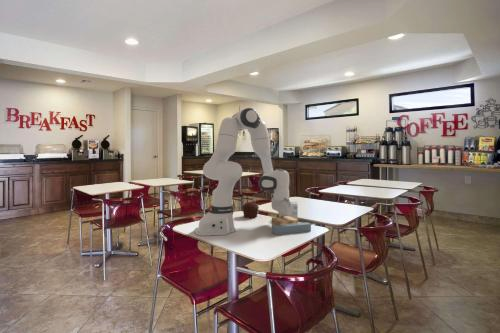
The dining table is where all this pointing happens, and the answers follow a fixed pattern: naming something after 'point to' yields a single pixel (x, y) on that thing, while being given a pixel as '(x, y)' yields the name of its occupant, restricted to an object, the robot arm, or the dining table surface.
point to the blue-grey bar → (291, 228)
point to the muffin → (250, 210)
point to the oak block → (283, 220)
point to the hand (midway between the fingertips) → (281, 219)
